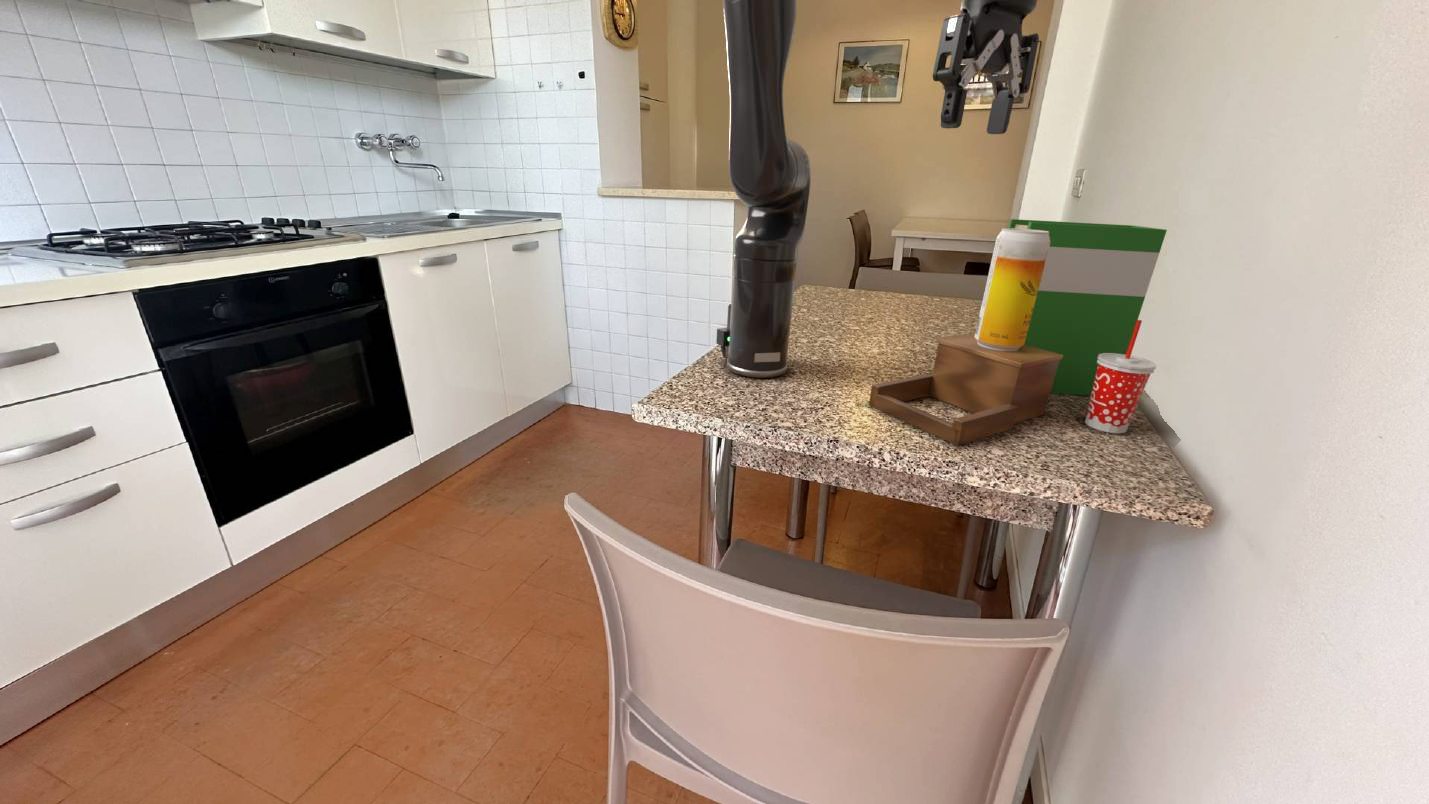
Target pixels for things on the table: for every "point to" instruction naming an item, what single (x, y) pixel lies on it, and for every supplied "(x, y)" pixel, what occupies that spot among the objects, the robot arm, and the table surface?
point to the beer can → (1012, 288)
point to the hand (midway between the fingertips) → (973, 131)
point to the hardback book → (1089, 294)
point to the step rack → (973, 389)
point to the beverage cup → (1118, 388)
